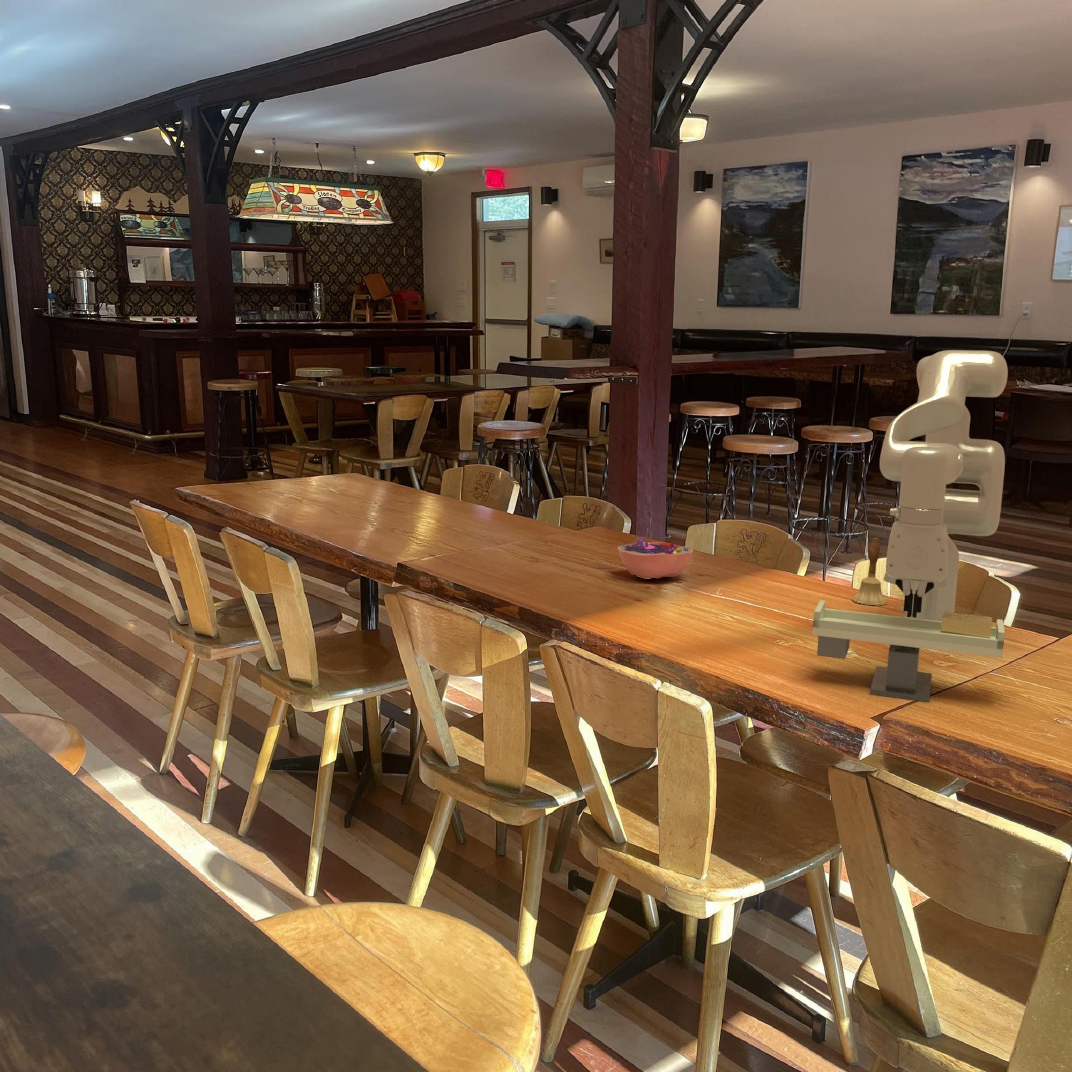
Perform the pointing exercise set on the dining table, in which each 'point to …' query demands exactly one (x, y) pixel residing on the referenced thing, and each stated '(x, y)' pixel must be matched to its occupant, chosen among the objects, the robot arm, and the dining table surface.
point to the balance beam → (895, 633)
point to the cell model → (655, 558)
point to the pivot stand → (902, 676)
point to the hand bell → (871, 581)
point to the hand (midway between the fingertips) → (911, 615)
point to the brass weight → (966, 624)
